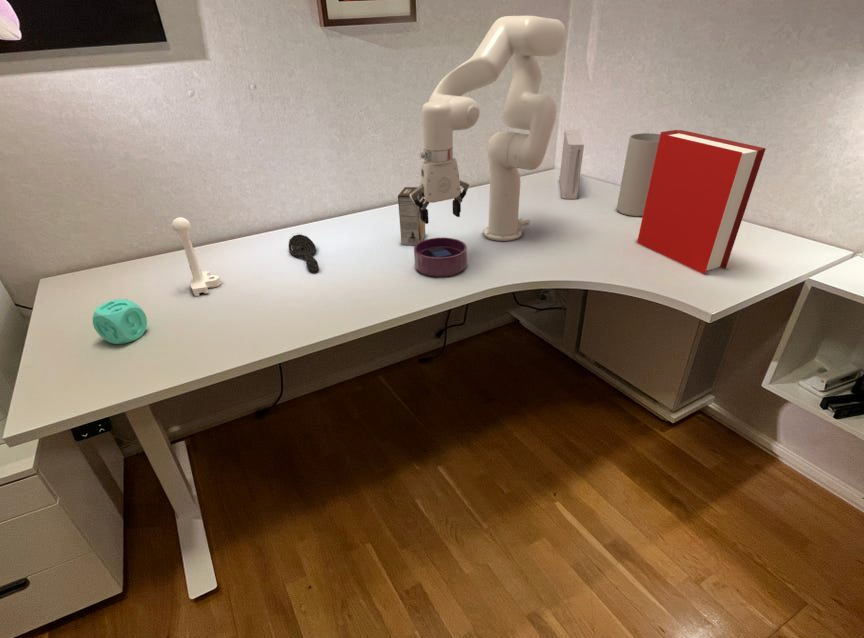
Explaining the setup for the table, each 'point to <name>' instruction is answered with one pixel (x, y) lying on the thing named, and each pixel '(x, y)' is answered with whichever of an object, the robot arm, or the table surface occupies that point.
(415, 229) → the coffee box
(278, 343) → the table surface
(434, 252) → the eraser
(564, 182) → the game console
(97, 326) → the decorative dice
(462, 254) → the bowl
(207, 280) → the joystick
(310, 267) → the hairbrush
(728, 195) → the book
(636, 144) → the cylinder vase
